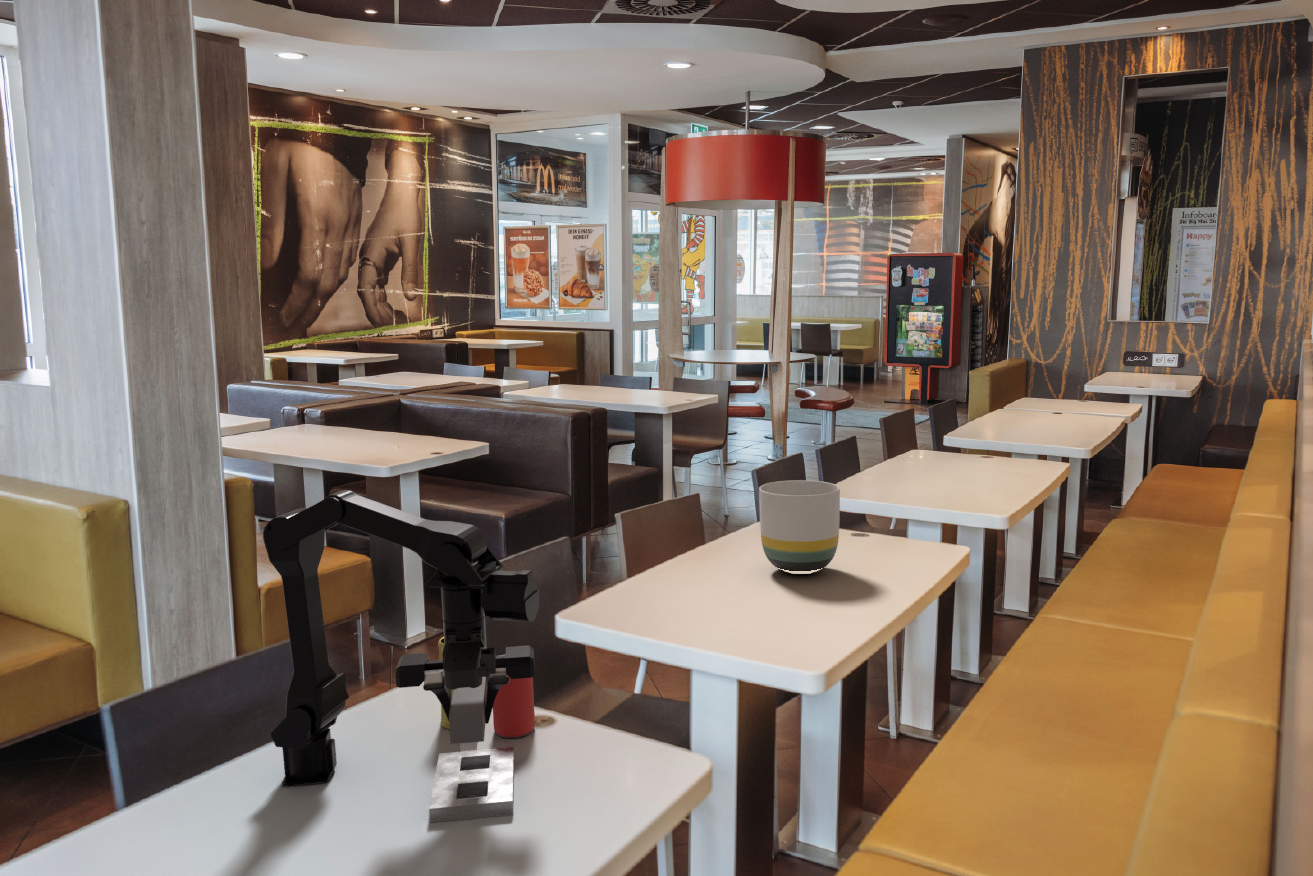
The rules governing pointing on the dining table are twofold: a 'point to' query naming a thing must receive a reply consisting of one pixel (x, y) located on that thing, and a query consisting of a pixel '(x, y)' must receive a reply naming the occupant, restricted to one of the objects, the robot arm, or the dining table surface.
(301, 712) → the robot arm
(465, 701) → the grey rectangular block
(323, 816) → the dining table surface
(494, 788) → the mount plate
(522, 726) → the beer can
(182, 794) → the dining table surface
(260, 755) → the dining table surface
